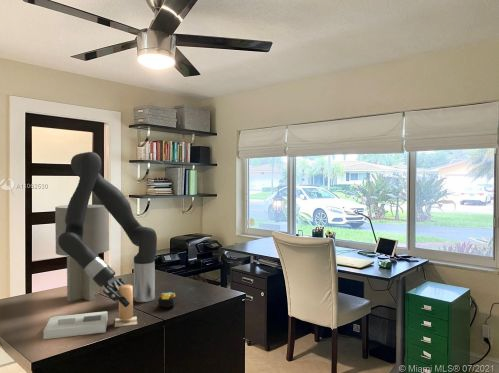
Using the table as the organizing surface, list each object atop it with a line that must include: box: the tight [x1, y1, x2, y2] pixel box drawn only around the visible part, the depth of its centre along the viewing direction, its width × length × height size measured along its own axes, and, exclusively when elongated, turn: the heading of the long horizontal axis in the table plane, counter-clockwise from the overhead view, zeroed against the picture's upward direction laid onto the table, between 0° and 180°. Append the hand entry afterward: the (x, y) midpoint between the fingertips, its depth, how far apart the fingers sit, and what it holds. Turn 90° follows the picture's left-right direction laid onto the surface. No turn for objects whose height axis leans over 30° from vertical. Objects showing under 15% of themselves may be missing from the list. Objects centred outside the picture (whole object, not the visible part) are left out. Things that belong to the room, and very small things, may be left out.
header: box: [43, 310, 108, 340], centre depth 141 cm, size 14×20×3 cm
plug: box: [118, 284, 134, 320], centre depth 147 cm, size 5×5×12 cm
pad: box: [114, 316, 138, 328], centre depth 147 cm, size 8×8×1 cm
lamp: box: [54, 204, 110, 303], centre depth 178 cm, size 23×23×43 cm
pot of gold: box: [157, 292, 178, 309], centre depth 167 cm, size 6×13×6 cm, turn 0°
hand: (130, 302), depth 147 cm, fingers closed on plug, 5 cm apart
